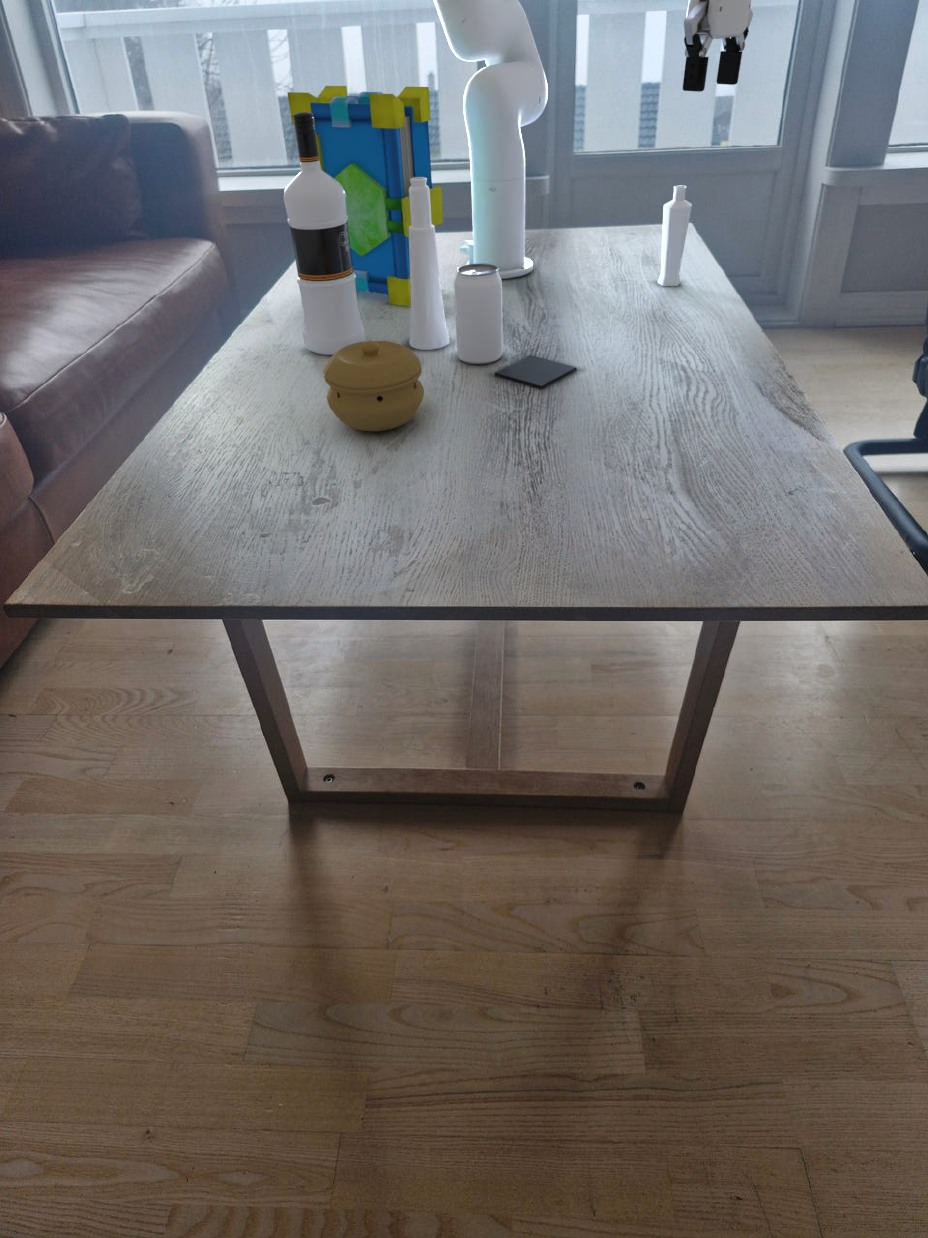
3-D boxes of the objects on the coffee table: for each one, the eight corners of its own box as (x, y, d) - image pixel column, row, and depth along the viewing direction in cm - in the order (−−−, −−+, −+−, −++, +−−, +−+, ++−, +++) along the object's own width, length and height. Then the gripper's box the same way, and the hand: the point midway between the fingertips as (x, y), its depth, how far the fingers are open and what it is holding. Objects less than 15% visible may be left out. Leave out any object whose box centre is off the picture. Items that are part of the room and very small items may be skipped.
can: (508, 350, 115) (507, 263, 108) (494, 367, 111) (493, 276, 103) (466, 347, 117) (462, 261, 110) (451, 363, 112) (446, 274, 105)
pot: (354, 399, 104) (344, 321, 98) (439, 407, 101) (434, 327, 95) (314, 437, 95) (300, 355, 89) (406, 447, 92) (398, 363, 86)
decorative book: (407, 311, 132) (388, 95, 113) (301, 294, 142) (269, 93, 123) (453, 287, 141) (443, 84, 122) (351, 273, 151) (328, 83, 132)
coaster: (494, 375, 108) (494, 372, 108) (530, 357, 113) (530, 354, 113) (541, 388, 104) (541, 385, 104) (576, 369, 109) (576, 367, 108)
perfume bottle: (681, 278, 140) (693, 183, 130) (683, 286, 136) (696, 188, 127) (654, 279, 140) (664, 183, 131) (656, 286, 137) (667, 189, 127)
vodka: (300, 340, 122) (260, 111, 104) (358, 331, 125) (330, 105, 106) (312, 360, 115) (272, 118, 97) (373, 350, 118) (346, 112, 99)
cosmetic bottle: (402, 348, 118) (387, 181, 104) (419, 334, 122) (407, 173, 109) (439, 351, 116) (429, 183, 102) (455, 338, 120) (447, 174, 107)
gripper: (736, -66, 112) (716, 80, 123) (672, -67, 102) (656, 92, 113) (787, -69, 108) (761, 82, 119) (725, -71, 98) (703, 94, 109)
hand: (710, 87), depth 116 cm, fingers open, 9 cm apart
